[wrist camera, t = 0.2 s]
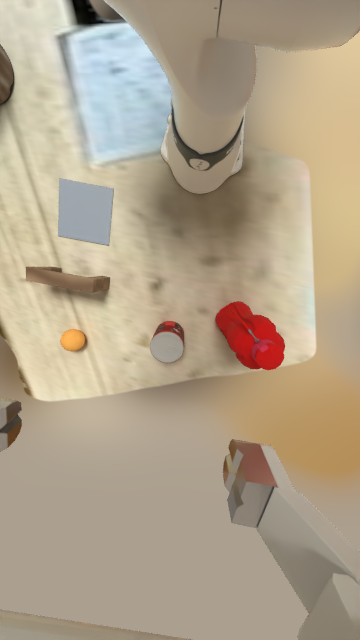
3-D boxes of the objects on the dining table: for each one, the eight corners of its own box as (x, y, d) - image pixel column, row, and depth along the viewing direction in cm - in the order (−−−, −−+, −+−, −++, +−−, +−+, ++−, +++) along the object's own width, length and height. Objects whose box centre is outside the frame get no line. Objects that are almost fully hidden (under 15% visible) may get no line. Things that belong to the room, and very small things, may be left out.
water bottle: (235, 290, 53) (277, 309, 29) (256, 323, 56) (311, 365, 31) (206, 309, 55) (223, 343, 31) (228, 340, 57) (259, 394, 33)
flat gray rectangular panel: (59, 178, 48) (59, 178, 48) (113, 189, 48) (113, 188, 48) (58, 235, 51) (58, 235, 51) (108, 245, 51) (108, 245, 51)
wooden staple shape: (54, 267, 53) (26, 266, 44) (109, 277, 53) (93, 279, 44) (53, 278, 54) (26, 280, 44) (109, 288, 54) (92, 292, 45)
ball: (68, 325, 57) (55, 331, 51) (89, 328, 57) (78, 335, 51) (68, 344, 59) (55, 352, 53) (88, 347, 59) (77, 356, 53)
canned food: (185, 344, 58) (185, 362, 47) (157, 346, 58) (151, 364, 47) (183, 319, 56) (182, 331, 45) (154, 321, 56) (147, 333, 46)
